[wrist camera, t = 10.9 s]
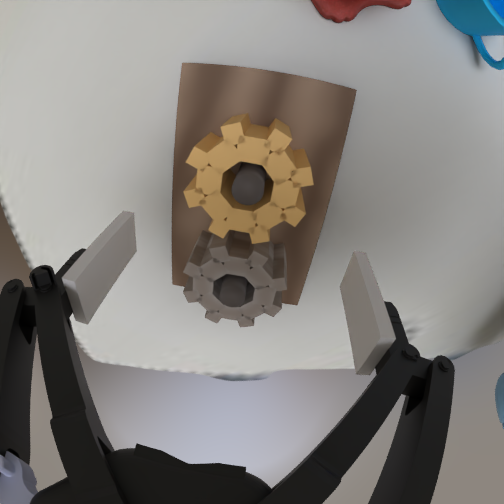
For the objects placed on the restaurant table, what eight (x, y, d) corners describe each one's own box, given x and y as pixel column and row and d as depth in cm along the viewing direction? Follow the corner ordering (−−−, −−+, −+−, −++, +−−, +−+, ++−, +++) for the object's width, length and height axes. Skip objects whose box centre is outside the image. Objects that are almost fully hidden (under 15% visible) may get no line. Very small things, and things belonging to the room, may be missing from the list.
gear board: (351, 89, 24) (381, 94, 17) (296, 294, 39) (299, 348, 31) (188, 63, 24) (153, 60, 17) (176, 274, 38) (155, 324, 31)
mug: (424, -31, 15) (461, -51, 8) (478, -20, 13) (519, -29, 6) (451, 65, 21) (497, 69, 14) (501, 70, 19) (546, 78, 12)
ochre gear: (315, 126, 25) (325, 139, 20) (292, 220, 31) (294, 251, 26) (207, 107, 25) (190, 115, 20) (197, 202, 30) (181, 231, 25)
